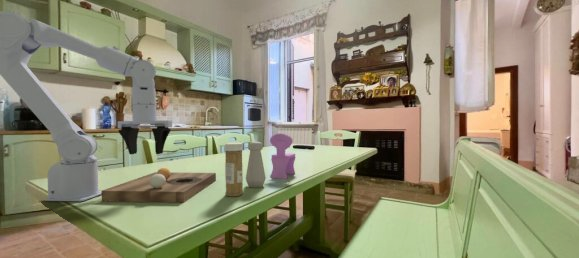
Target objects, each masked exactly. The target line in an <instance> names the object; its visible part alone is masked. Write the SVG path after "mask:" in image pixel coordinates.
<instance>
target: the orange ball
mask: <svg viewBox="0 0 579 258" xmlns="http://www.w3.org/2000/svg"><path fill="white" fill-rule="evenodd" d="M156 172H157V174H162V175H163V176H164V177H165V179H166V180H167V179H168V178H169V177H170V172H171V171H170V169H169V168H166V167H161V168H160V169H158V170H157V171H156Z"/></svg>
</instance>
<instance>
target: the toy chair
mask: <svg viewBox="0 0 579 258" xmlns="http://www.w3.org/2000/svg"><path fill="white" fill-rule="evenodd" d="M293 141H294V140H293V138H292V137H291V135H289V134H285V133H283V132H281V133H275V134H273V135H271V137H270V139H269V142H270V144H271V145H272V146H273V147H274V148H275V149H276V153H275V154H271V159H270V161H271V164H272V171H271V173H270V176H269V178H270V179H271V178H272V179H273V178H274V179H284V180H285V179H286V180H287V179H288V176H287V174H288V175H296V171H295V166H294V165H295V161H296V153H286V150H287V149H288V148H290V147H291V145H292V144H293Z"/></svg>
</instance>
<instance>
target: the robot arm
mask: <svg viewBox="0 0 579 258" xmlns="http://www.w3.org/2000/svg"><path fill="white" fill-rule="evenodd" d="M26 18H27V19H26ZM28 20H29V21H28ZM42 47H43V48H45V49H51V48H54V47H60V48H62V49H64V50H67V51H70V52H73V53H76V54H79V55H82V56H84V57H87V58H90V59H93V60H95V62H96V63H97V65H98V66H99V67H100V68H102V69H106V70H108V71H110V72H113V73H116V74H119V75H121V76H124V77H127V78H128V77H131V79H132V87H131V104H132V105H131V106H132V120H121V121H118V120H117V129H118V133H119V135H120V136H121V138H122V139H123V141H124V142H125V144H126V147H127V150H128V154H129V155H135V154H137V152H138V135H139V131H140V129H146V128H147V129H148V128H150V129H151V131H152V135H153V138H154V149H155V150H154V151H155V154H156V155H160V154H163V153H164V147H165V143H166V140H167V138H168V136H169V134H170V133H171V130H172V129H171V128H172V127H173V121H172V120H171V119H170V120H157V95H156V87H155V85H156V82H155V80H154V78H155V76H156V74H157V71H156V68H155V66H154V65H153V64H152V62H150V61H149V60H146V59H140V57H139V56H137V55H134V56H133V55H130V54H127V53H125V52H124V51H121V50H120V48H119V47H117V46H115V45H114V46H113V47H111V46H108V45H106V46H102V47H99V46H96V45H94V44H92V43H90V42H88V41H85V40H83V39H81V38H79V37H76V36H74V35H72V34H70V33H67V32H65V31H62V30H60V29H58V28H56V27H54V26H52V25H50V24H47V23H44V22H42V21H39V20H37V19H35V18H31V17H28V16H27V17H24V16H22V15H21V14H19V13H17V12H14V11H10V10H1V11H0V76H1V77H2V79H3V80H4V81H5V82H6V83H7V84H8V85H9V87H11V88H12V90H13V91H14V92H15V93H16V95H17V96H18V97H19V98H20V99H21V100H22V101H23V103H24V104H25V105H26V106H27V107H28V108H29V110H30V111H31V112H32V113H33V114H34V115H35V117H37V119H38V120H39V121H40V122H41V123H42V124H43V125H44V127H45V128H46V129H47V130H48V131H49V133H50V136H51V139H52V141H53V142H54V143H55V144H56V147H57V152H58V155H59V156H60V158H62V159H60V160H59V161H58V162H56V163H53V164H52V165H51V166H50V168H49V169H48V171H47V197H46V198H45V199H44V201H45V202H83V201H84V202H85V201H87V200H90V199H92V198H96V197H97V196H102V190H99V162H98V161H99V160H98V159H99V158H98V157H96V156H95V155H94V154H95V153H96V152H97V150H98V142H97V139H95V137H93V136H91V135H90V134H88V133H86V132H84V130H83V129H82V128H81V127H80V126H79V125H77V124H76V123H75V122H74V121H73V120H72V118H71V117H70V116H69V115H68V114H67V112H66V111H65V110H64V108H63V107H62V106H61V105H60V104H59V103H58V101H57V100H56V99H55V98H54V97H53V96H52V94H51V93H50V92H49V91H48V89H47V88H46V87H45V86H44V84H43V83H42V82H41V81H40V80H39V78H38V77H37V76H36V75H35V74H34V73H33V72H32V70H31V68H29V67H28V64H29V61H30V60H31V57H32V56H33V55H34V54H35V53H36V52H38V50H40V48H42ZM145 124H146V125H145Z"/></svg>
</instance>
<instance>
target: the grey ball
mask: <svg viewBox="0 0 579 258" xmlns="http://www.w3.org/2000/svg"><path fill="white" fill-rule="evenodd" d="M165 182H166V179H165V177H164V176H163V175H162V174H155V175H153V176H152V177H151V179H150V185H151V186H152V187H153V188H161V187H162V186H164V184H165Z"/></svg>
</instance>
